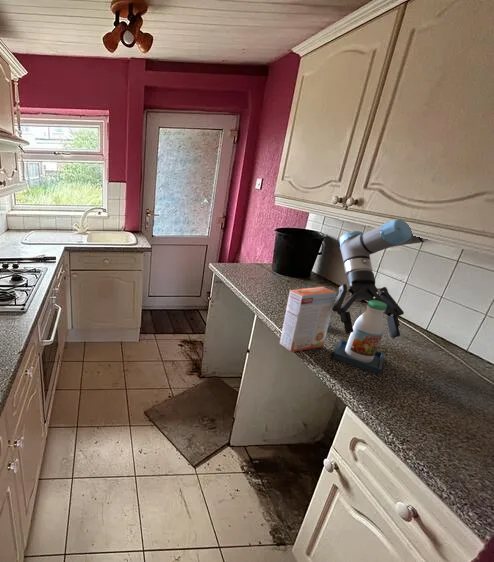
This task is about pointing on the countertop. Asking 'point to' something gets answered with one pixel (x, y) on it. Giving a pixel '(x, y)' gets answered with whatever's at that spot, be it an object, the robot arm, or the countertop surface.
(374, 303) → the milk bottle
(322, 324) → the cracker box
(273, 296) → the countertop surface
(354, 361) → the tray
